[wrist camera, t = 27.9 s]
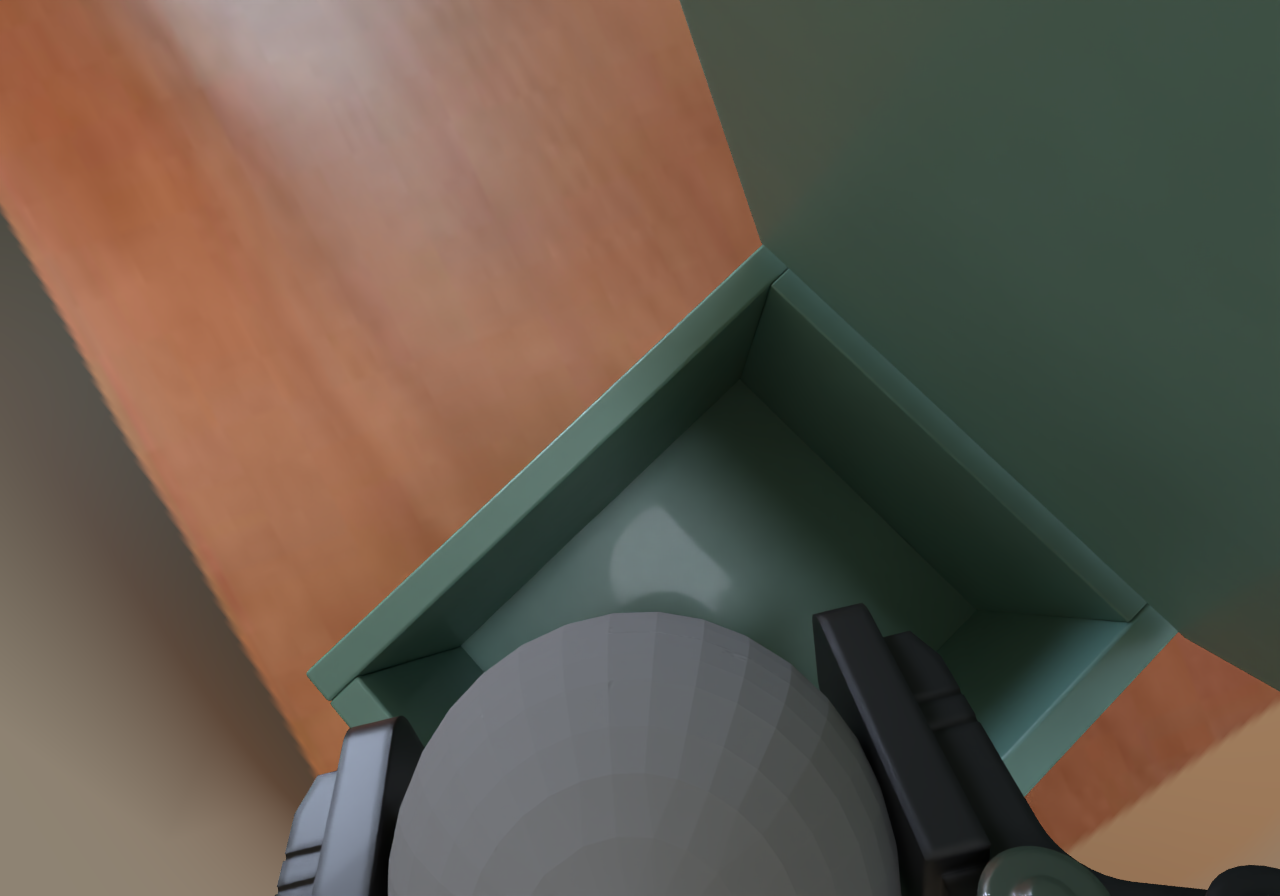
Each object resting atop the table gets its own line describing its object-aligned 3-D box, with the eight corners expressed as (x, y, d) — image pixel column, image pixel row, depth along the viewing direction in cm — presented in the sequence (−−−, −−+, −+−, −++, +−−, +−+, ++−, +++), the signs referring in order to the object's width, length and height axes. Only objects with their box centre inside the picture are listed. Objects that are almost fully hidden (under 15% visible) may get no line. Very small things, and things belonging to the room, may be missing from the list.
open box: (688, 935, 23) (698, 1149, 14) (432, 642, 25) (302, 673, 16) (1002, 609, 24) (1188, 624, 16) (737, 352, 26) (769, 236, 17)
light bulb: (739, 566, 17) (834, 530, 7) (840, 846, 16) (1114, 1255, 6) (478, 656, 17) (213, 745, 7) (562, 946, 16) (386, 1528, 6)
